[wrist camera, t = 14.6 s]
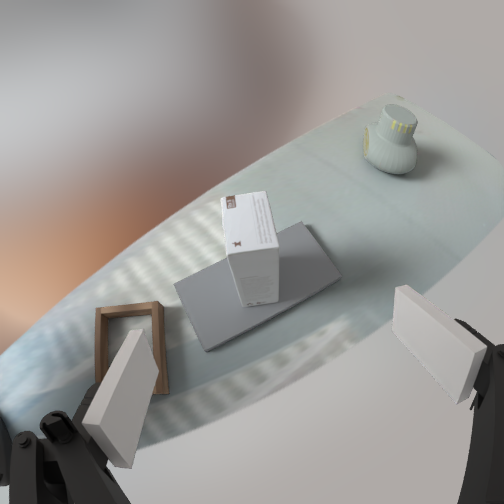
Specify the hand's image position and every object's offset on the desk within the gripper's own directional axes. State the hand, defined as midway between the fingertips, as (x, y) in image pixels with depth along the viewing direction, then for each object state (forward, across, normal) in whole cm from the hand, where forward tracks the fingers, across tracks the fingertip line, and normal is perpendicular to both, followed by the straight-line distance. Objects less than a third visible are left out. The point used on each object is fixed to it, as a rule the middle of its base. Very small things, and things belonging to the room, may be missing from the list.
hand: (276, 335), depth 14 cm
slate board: (+20, 0, -5) cm, 21 cm away
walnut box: (+16, -16, -10) cm, 24 cm away
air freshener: (+33, +25, +8) cm, 42 cm away
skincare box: (+20, 0, -5) cm, 20 cm away
